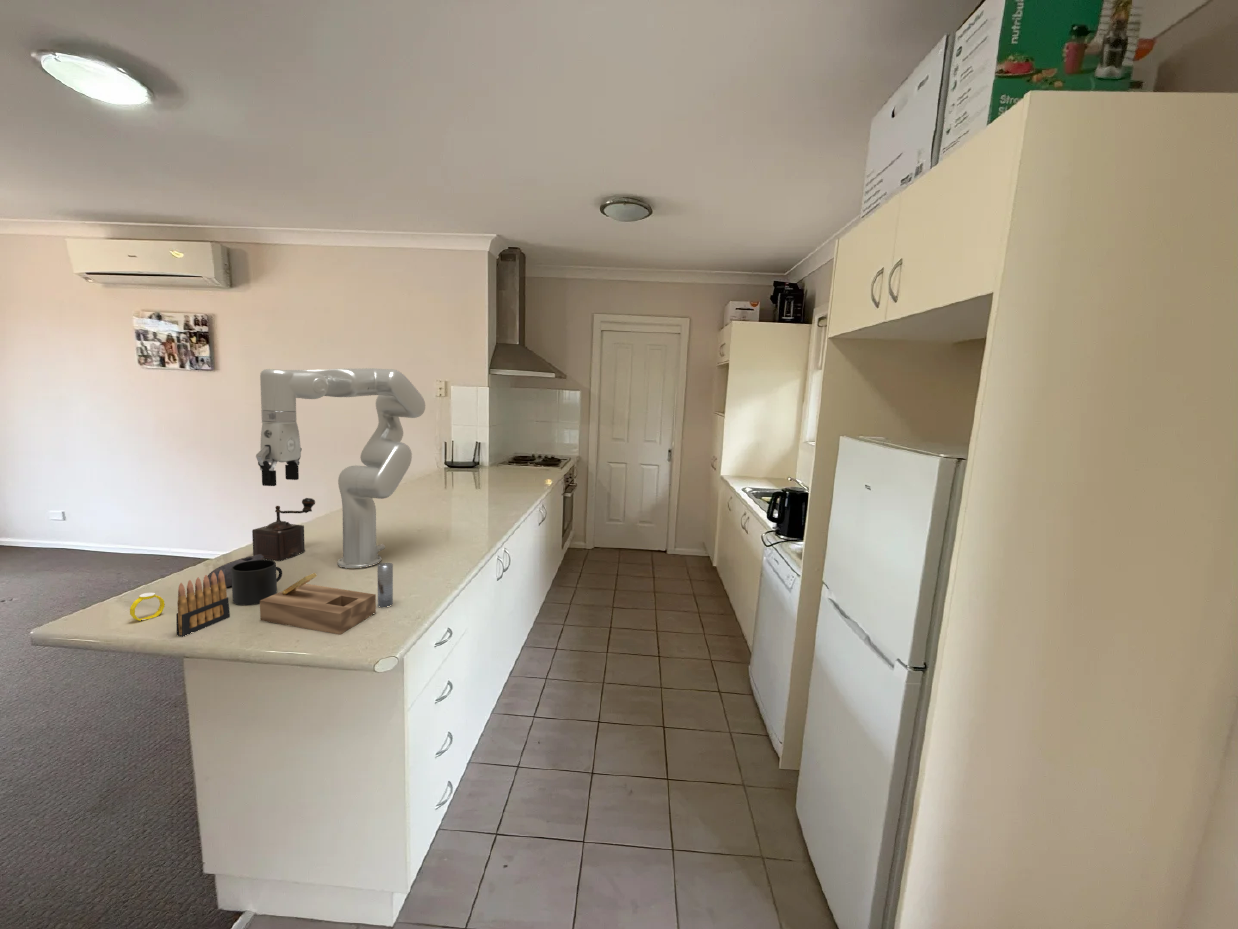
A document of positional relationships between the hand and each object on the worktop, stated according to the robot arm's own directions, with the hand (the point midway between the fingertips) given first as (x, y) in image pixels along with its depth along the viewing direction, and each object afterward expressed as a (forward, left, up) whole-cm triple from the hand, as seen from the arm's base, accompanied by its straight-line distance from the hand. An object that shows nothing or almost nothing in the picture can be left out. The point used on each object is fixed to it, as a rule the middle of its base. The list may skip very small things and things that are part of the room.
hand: (281, 482), depth 132 cm
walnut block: (+9, +20, -30) cm, 37 cm away
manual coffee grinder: (-27, -26, -31) cm, 48 cm away
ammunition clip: (+21, 0, -31) cm, 37 cm away
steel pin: (-2, +30, -30) cm, 43 cm away
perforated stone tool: (-1, -16, -31) cm, 35 cm away
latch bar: (+9, +14, -23) cm, 29 cm away
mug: (+4, -3, -31) cm, 31 cm away
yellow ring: (+22, -15, -31) cm, 41 cm away
